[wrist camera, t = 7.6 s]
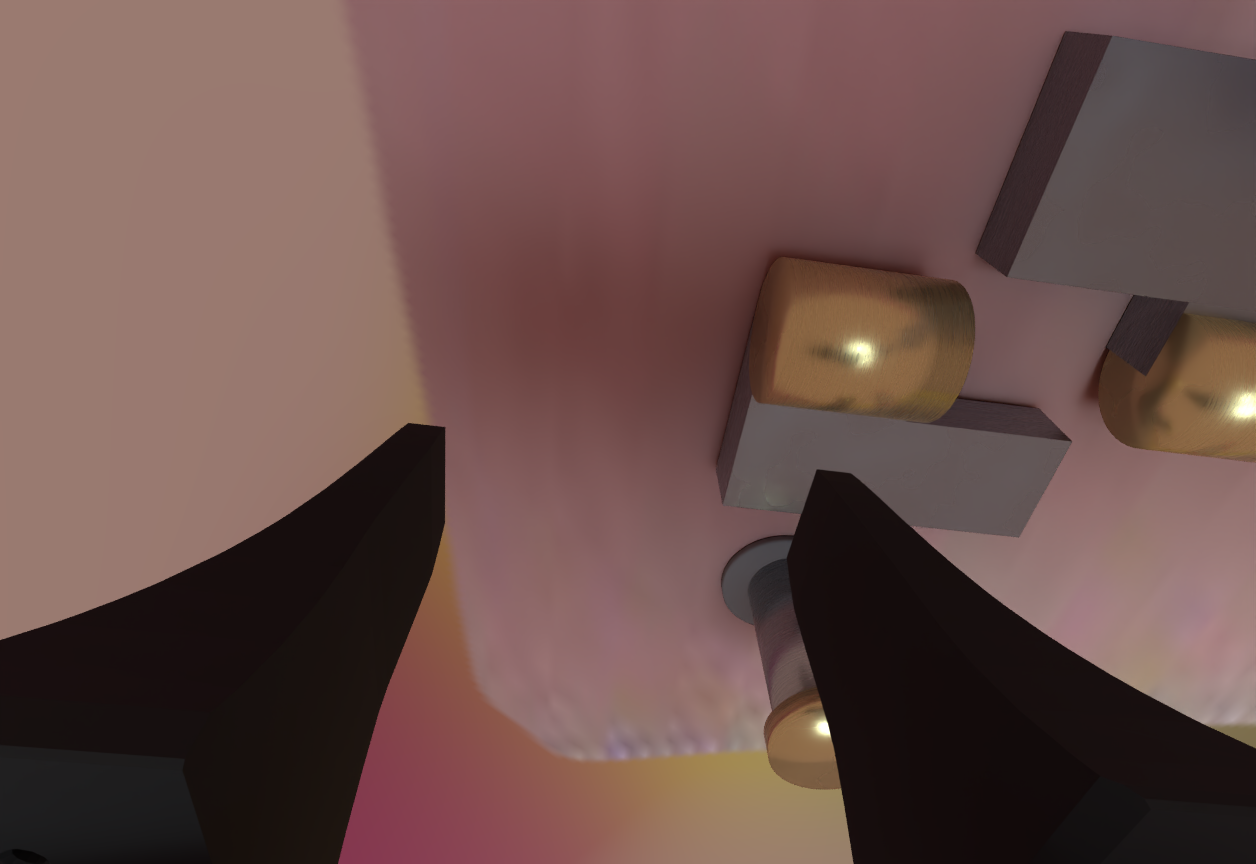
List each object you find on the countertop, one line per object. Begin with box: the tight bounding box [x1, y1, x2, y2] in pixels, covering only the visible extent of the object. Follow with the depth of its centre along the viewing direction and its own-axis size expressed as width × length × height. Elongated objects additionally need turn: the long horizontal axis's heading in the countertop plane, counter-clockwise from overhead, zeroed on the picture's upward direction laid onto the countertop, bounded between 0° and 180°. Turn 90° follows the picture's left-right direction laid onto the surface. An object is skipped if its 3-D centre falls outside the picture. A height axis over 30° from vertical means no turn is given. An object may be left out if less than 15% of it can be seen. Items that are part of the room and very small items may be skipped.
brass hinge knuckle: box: [716, 257, 1072, 537], centre depth 21 cm, size 10×8×4 cm
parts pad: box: [722, 536, 794, 625], centre depth 27 cm, size 4×4×1 cm
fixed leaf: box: [976, 31, 1256, 463], centre depth 19 cm, size 10×10×4 cm
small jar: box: [748, 558, 841, 789], centre depth 24 cm, size 4×4×7 cm
